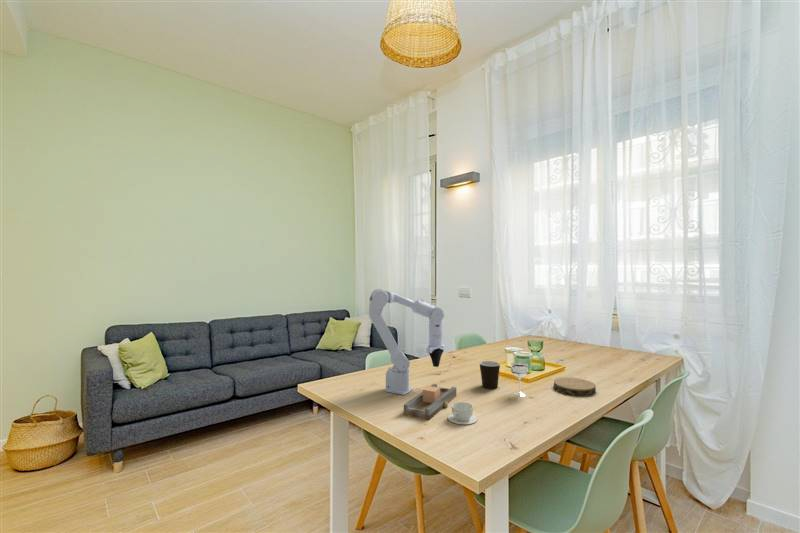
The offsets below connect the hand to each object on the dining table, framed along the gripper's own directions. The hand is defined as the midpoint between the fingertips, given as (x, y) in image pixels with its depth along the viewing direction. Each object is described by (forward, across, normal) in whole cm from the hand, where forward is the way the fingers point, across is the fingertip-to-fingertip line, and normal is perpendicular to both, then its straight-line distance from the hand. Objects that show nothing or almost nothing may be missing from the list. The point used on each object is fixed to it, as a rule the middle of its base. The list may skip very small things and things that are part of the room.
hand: (436, 366), depth 159 cm
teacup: (+10, -25, -21) cm, 34 cm away
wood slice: (+10, +25, -52) cm, 59 cm away
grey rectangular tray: (+9, -18, -6) cm, 21 cm away
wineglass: (+10, +9, -33) cm, 36 cm away
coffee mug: (+10, +14, -20) cm, 26 cm away
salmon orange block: (+8, -18, -6) cm, 21 cm away
